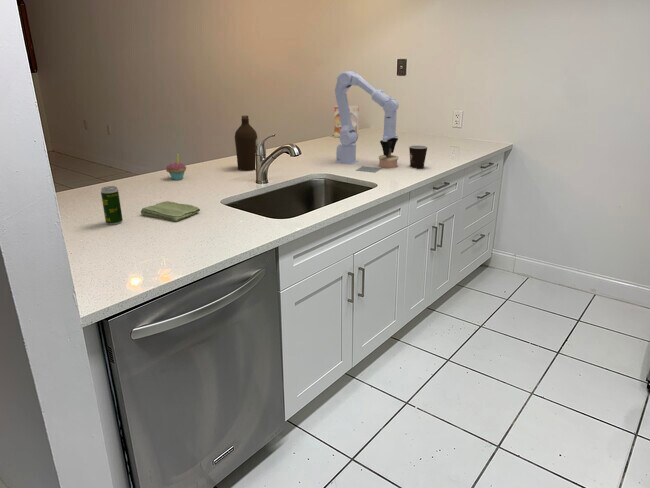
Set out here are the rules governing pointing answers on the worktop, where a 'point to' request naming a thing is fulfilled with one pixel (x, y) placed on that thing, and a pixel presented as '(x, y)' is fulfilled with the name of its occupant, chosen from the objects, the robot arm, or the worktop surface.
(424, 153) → the coffee mug
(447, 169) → the worktop surface
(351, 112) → the coffeecake box
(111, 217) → the beer can
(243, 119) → the olive oil
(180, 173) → the cupcake
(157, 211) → the washcloth
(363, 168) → the mat
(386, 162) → the bowl
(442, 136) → the worktop surface
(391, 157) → the lid
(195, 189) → the worktop surface
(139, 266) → the worktop surface
